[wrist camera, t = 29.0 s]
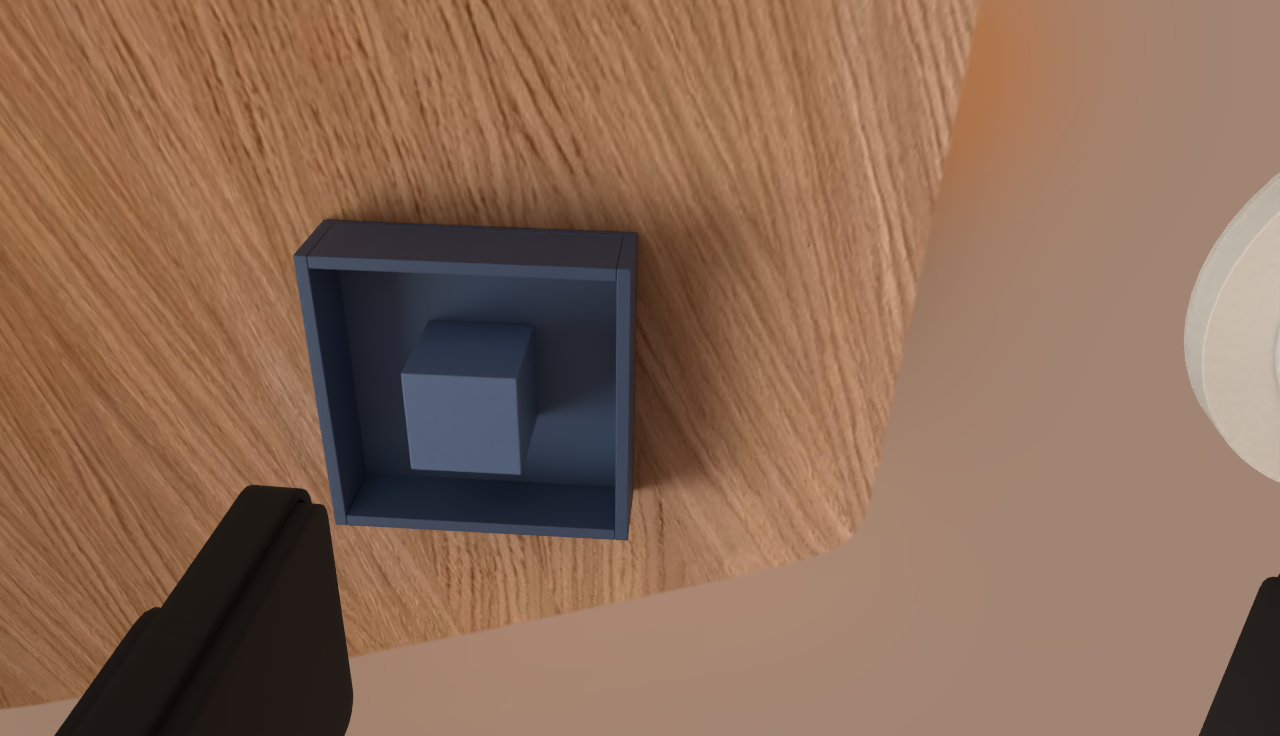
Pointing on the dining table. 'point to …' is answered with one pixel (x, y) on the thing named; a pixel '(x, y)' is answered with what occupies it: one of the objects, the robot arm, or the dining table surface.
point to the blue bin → (480, 293)
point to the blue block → (471, 397)
